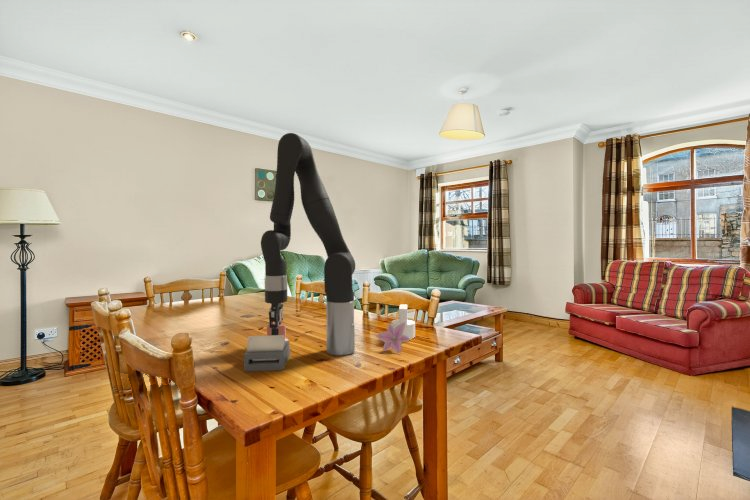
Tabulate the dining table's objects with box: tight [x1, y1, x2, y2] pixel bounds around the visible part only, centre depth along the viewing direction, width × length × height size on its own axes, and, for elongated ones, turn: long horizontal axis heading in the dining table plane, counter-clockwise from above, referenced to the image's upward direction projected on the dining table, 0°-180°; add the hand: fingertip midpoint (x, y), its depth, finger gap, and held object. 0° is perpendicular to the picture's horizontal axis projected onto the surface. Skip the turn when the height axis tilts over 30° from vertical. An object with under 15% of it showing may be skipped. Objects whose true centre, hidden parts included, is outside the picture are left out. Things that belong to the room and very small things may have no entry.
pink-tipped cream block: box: [252, 324, 289, 361], centre depth 113 cm, size 8×20×6 cm, turn 6°
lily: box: [375, 322, 412, 354], centre depth 121 cm, size 11×11×9 cm
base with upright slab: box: [391, 303, 416, 339], centre depth 135 cm, size 9×9×12 cm
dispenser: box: [243, 335, 291, 372], centre depth 108 cm, size 11×14×9 cm
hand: (276, 336), depth 122 cm, fingers open, 5 cm apart
